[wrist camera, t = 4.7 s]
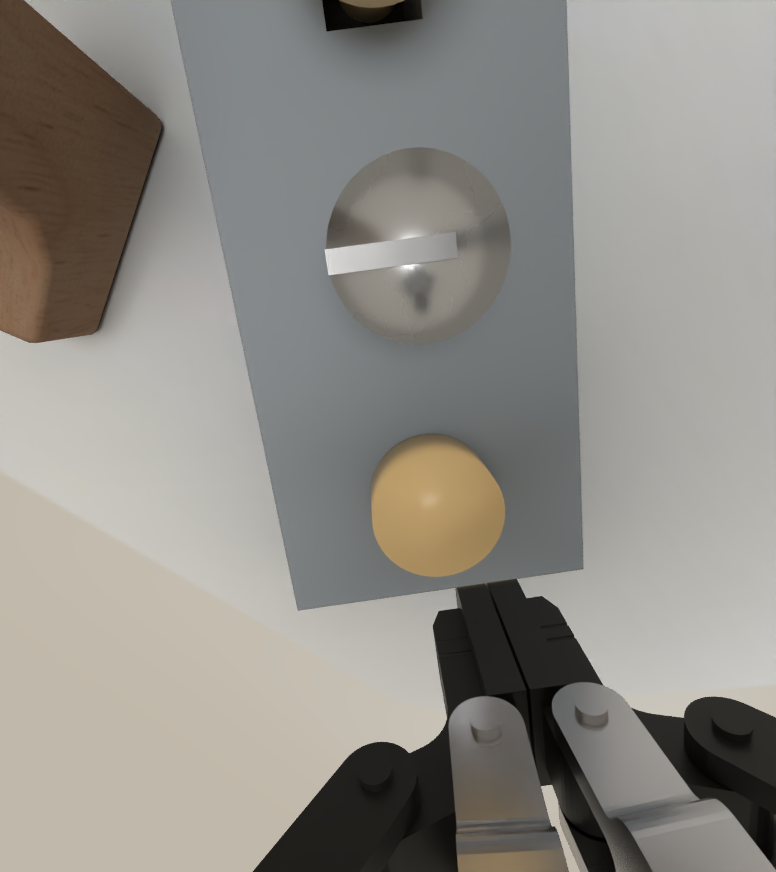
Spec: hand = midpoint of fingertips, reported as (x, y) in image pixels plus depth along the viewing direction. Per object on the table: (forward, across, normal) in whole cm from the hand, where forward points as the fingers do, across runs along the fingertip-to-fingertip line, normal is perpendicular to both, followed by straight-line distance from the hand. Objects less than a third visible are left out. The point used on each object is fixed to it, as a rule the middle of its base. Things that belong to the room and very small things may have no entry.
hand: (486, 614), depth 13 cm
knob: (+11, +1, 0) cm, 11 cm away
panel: (+12, 0, -9) cm, 15 cm away
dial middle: (+9, 0, -9) cm, 12 cm away
